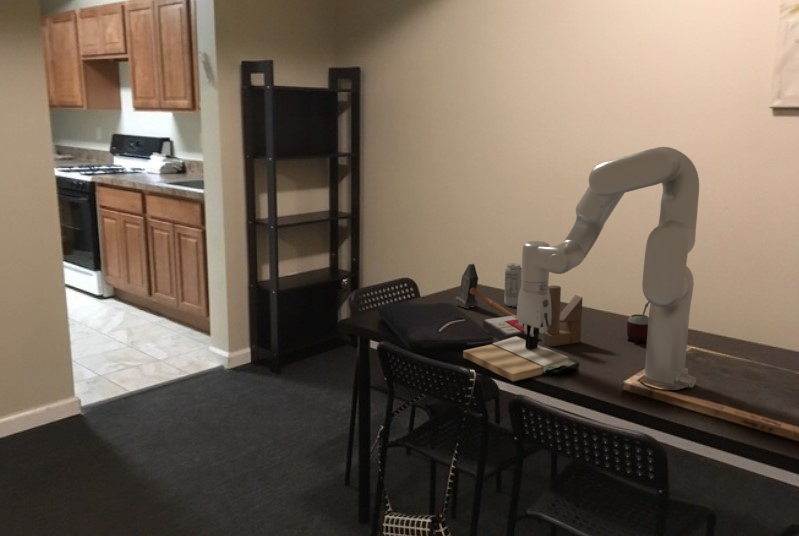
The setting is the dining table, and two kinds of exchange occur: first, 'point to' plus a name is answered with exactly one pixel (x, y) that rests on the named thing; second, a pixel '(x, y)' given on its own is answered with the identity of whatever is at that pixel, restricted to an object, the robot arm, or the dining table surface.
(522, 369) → the oak board
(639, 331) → the mate gourd
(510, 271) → the energy drink can
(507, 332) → the calculator
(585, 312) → the dining table surface
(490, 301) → the hammer
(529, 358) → the ash plank
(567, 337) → the wooden block
